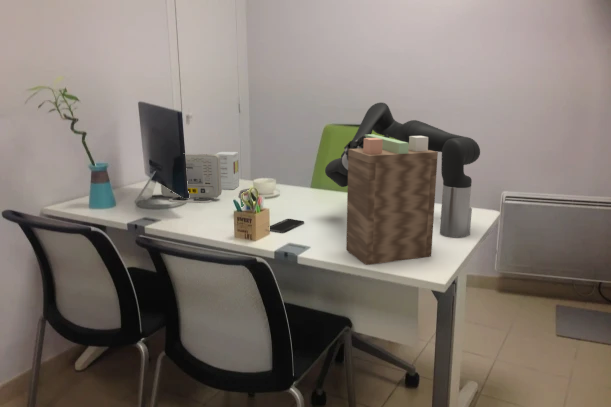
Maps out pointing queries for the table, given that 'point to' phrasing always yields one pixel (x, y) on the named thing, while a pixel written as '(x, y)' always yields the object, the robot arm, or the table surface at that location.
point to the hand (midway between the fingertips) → (376, 137)
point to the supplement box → (229, 170)
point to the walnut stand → (390, 205)
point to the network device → (200, 178)
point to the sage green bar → (392, 144)
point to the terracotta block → (372, 145)
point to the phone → (285, 225)
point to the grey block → (418, 143)
